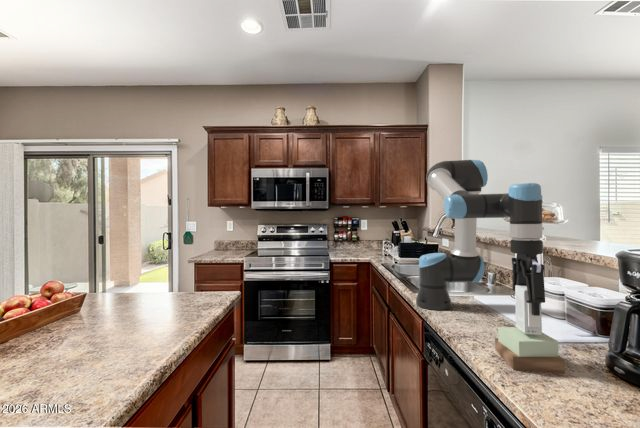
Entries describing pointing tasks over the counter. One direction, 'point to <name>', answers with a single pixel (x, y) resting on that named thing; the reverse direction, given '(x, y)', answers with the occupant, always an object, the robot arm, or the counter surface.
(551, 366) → the tower base
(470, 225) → the robot arm
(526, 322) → the skincare box
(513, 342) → the tower top
